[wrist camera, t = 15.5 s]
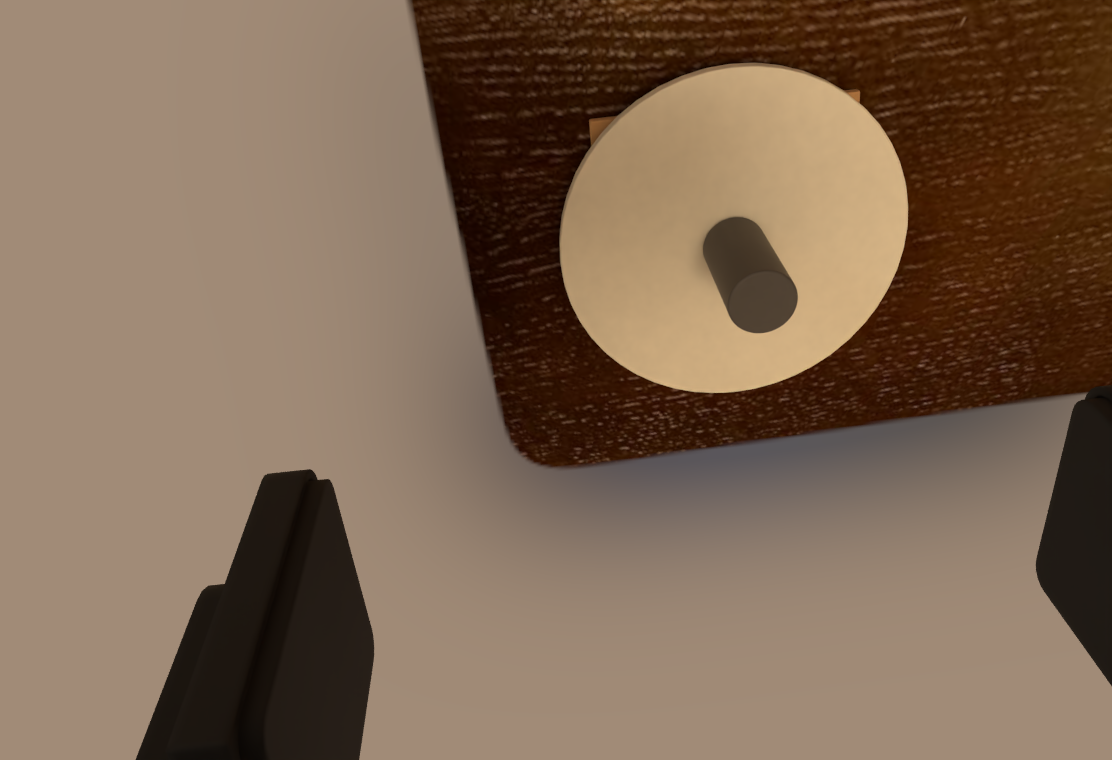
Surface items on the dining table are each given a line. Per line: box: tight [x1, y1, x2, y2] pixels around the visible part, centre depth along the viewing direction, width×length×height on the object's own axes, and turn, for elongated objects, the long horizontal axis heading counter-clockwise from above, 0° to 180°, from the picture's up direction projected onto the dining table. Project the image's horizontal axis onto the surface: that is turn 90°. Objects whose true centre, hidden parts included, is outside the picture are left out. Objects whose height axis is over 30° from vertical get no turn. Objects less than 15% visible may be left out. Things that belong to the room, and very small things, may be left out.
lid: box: [559, 63, 908, 393], centre depth 34 cm, size 13×13×6 cm
